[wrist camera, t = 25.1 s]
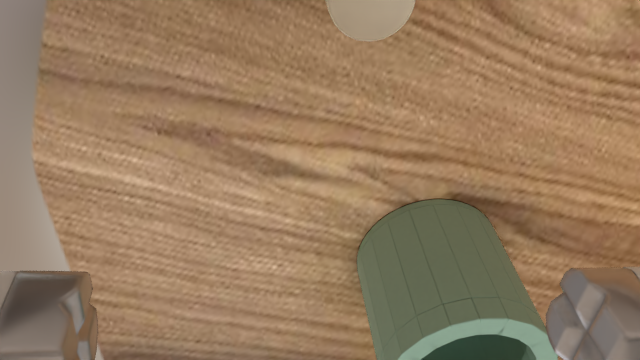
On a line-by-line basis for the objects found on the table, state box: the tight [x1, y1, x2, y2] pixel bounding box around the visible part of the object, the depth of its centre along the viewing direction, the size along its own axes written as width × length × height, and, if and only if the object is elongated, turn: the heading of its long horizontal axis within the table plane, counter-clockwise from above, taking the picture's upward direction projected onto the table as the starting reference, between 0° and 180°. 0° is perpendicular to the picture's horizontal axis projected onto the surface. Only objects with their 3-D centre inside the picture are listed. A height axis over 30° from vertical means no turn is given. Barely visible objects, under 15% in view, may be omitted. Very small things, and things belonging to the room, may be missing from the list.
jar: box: [357, 199, 558, 360], centre depth 37 cm, size 10×10×10 cm
